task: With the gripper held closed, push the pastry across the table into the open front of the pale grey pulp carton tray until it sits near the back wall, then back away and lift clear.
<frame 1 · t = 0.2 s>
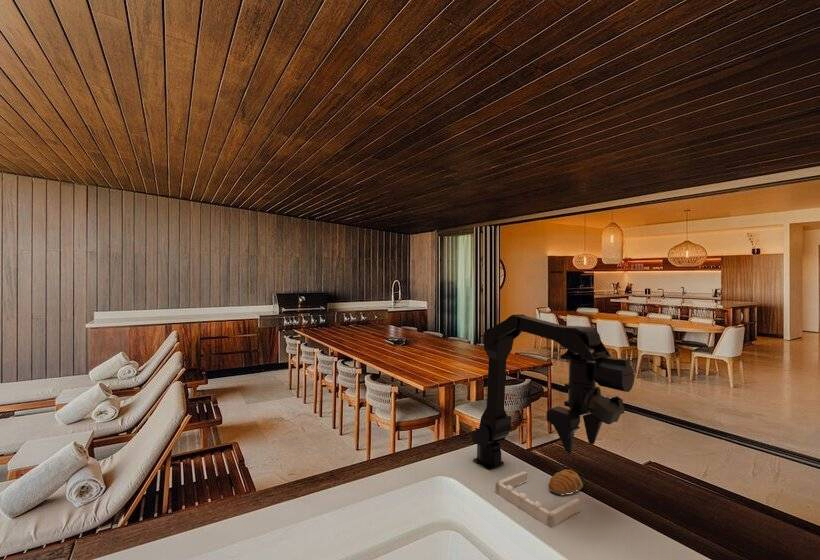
hand: (580, 448, 88), 14 cm above the table, tool pointing down, fingers open, 9 cm apart
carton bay: (537, 500, 91), on the table
pastry: (565, 489, 98), on the table
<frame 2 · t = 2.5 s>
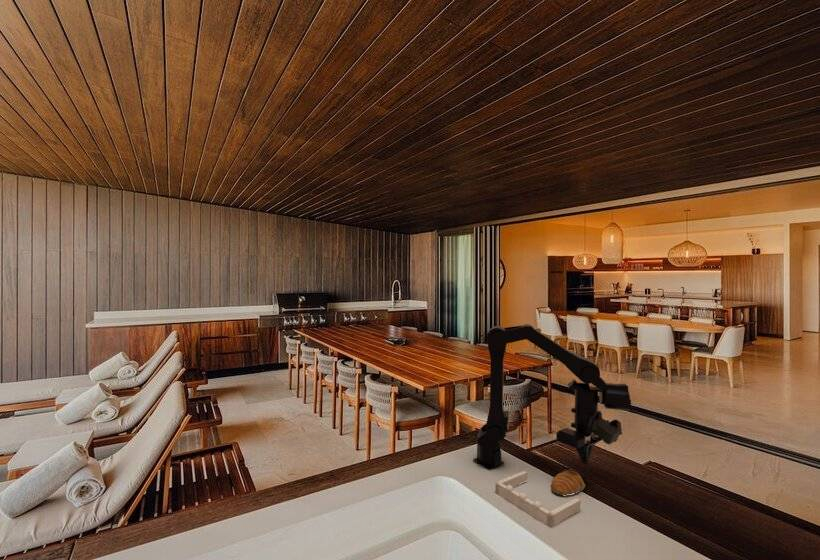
hand: (584, 463, 103), 4 cm above the table, tool pointing down, fingers closed
nothing on the table moved.
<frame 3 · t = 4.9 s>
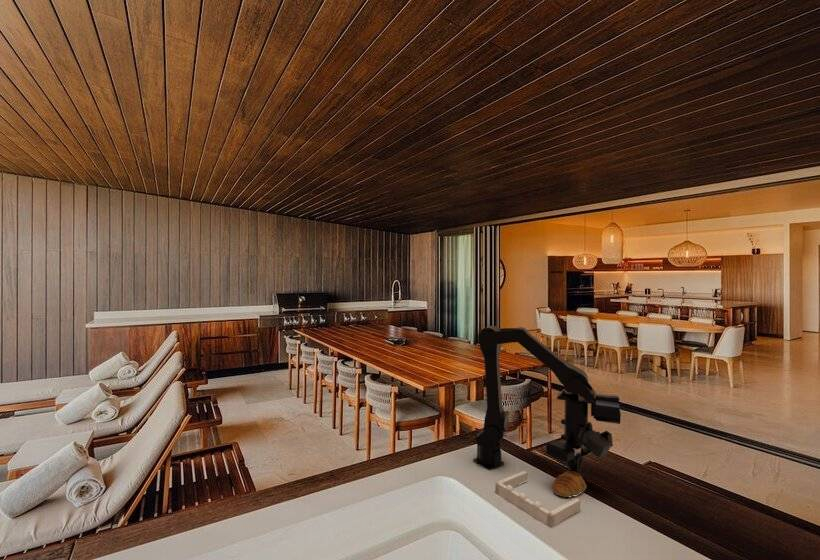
hand: (575, 476, 100), 2 cm above the table, tool pointing down, fingers closed
pastry: (569, 491, 97), on the table, touching gripper
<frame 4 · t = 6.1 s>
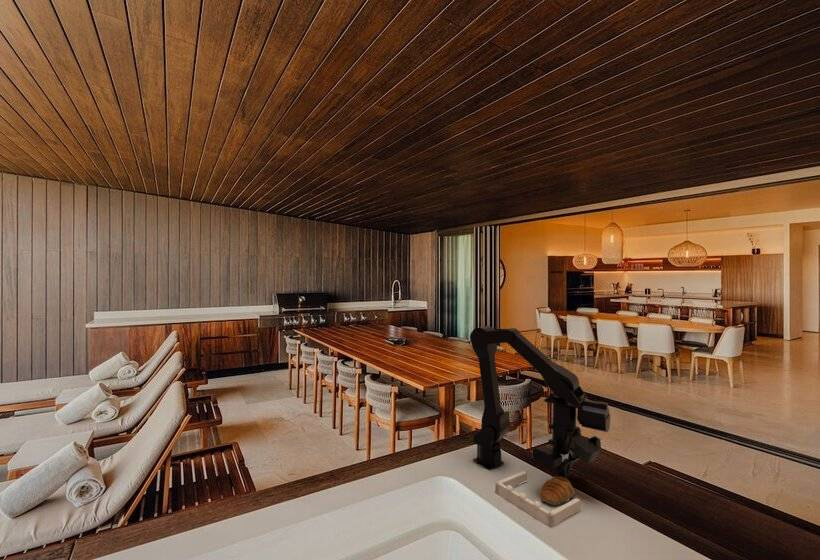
hand: (563, 482, 97), 1 cm above the table, tool pointing down, fingers closed
pastry: (556, 497, 93), on the table, touching gripper
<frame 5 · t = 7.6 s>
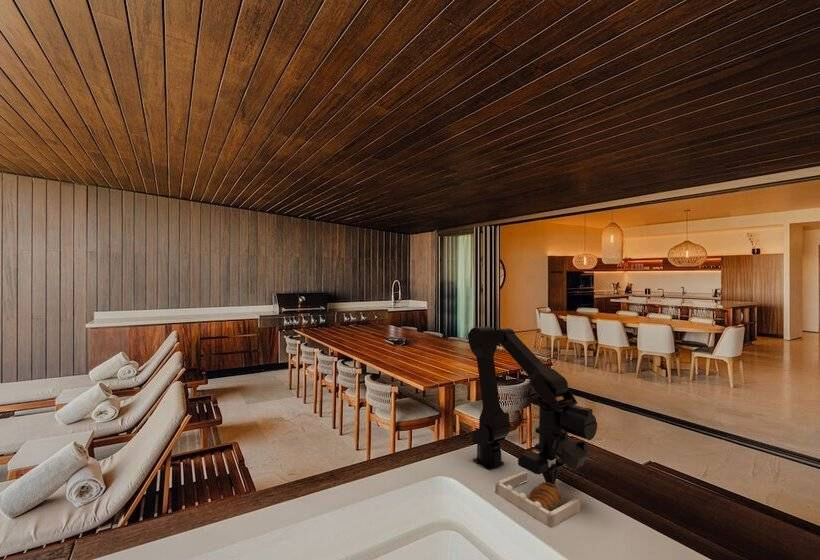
hand: (550, 488, 94), 2 cm above the table, tool pointing down, fingers closed
pastry: (545, 505, 90), on the table, touching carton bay, gripper
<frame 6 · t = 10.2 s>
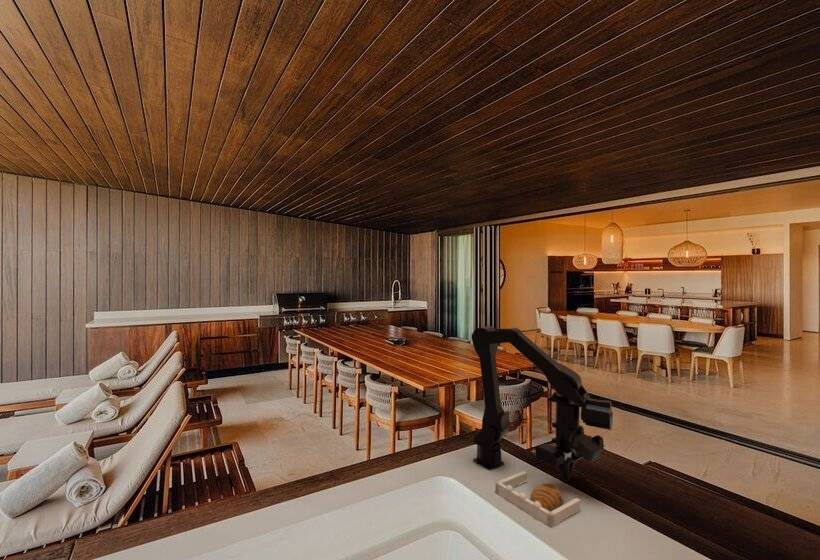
hand: (566, 480, 98), 2 cm above the table, tool pointing down, fingers closed
pastry: (545, 506, 90), on the table
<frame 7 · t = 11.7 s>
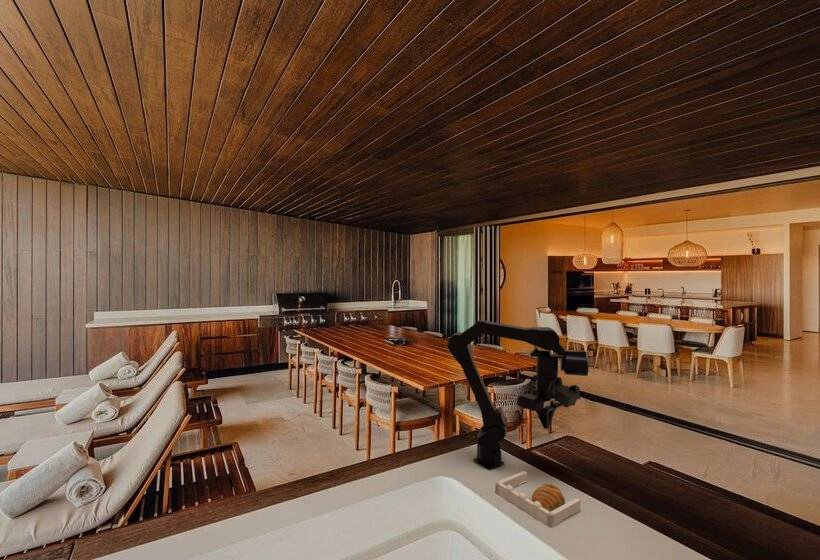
hand: (545, 428, 106), 12 cm above the table, tool pointing down, fingers closed
nothing on the table moved.
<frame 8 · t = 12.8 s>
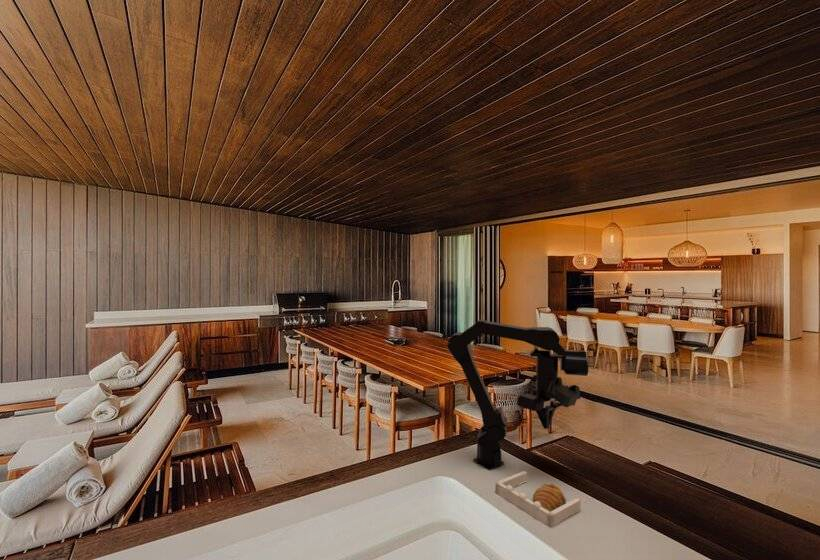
hand: (545, 428, 106), 12 cm above the table, tool pointing down, fingers closed
nothing on the table moved.
at the end: pastry inside the target area on the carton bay (4.1 cm from its centre), point -0.5 cm above the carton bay's base; pastry moved 10.5 cm from its start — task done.
